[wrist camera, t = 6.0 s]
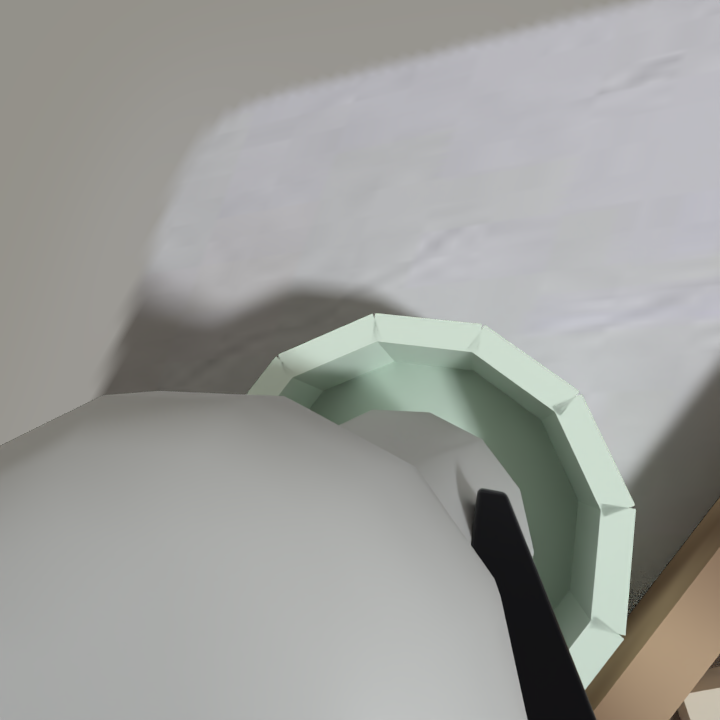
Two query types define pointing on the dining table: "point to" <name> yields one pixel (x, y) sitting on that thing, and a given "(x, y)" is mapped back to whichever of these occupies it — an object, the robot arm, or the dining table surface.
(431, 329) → the bowl
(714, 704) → the beige rectangular block
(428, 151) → the dining table surface
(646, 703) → the tray
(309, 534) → the salt shaker
